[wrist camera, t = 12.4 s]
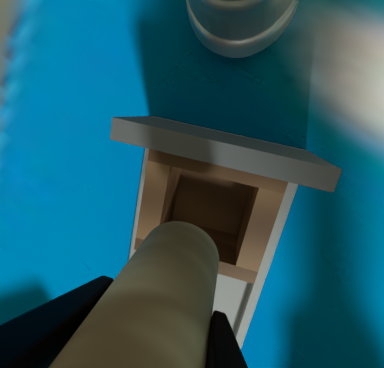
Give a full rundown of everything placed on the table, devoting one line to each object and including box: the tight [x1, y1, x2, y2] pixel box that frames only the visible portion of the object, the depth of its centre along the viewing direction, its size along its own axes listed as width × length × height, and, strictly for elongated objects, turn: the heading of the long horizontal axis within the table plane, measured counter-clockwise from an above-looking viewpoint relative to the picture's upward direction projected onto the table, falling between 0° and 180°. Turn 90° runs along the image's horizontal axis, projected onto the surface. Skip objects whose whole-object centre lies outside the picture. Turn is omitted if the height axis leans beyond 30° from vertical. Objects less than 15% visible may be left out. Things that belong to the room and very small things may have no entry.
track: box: [110, 116, 342, 350], centre depth 19 cm, size 22×12×7 cm, turn 169°
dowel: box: [49, 221, 219, 368], centre depth 7 cm, size 4×4×9 cm
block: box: [134, 149, 288, 284], centre depth 17 cm, size 7×8×5 cm
